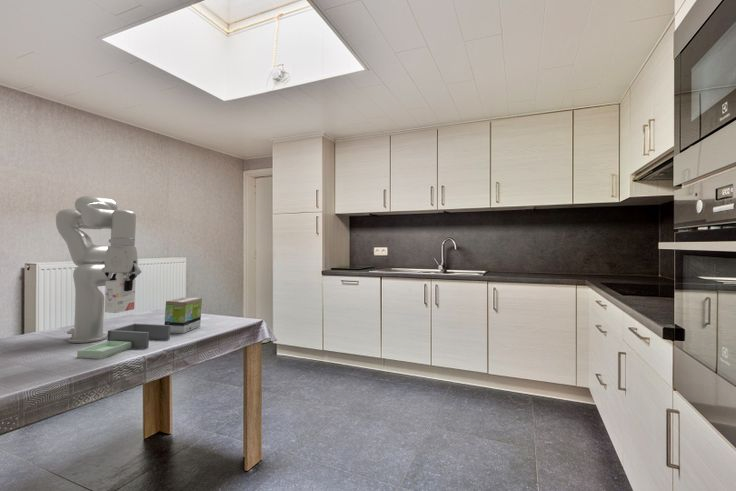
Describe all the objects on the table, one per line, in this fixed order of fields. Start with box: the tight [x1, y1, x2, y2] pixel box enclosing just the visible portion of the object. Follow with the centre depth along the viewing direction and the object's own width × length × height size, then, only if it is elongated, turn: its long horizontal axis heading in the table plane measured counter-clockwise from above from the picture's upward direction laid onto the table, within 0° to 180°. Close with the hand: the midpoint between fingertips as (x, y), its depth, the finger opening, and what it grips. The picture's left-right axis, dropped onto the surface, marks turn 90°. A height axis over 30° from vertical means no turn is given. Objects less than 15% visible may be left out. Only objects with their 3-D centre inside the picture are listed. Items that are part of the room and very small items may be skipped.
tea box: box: [163, 296, 203, 334], centre depth 165 cm, size 15×10×15 cm, turn 179°
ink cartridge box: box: [104, 272, 136, 314], centre depth 130 cm, size 9×5×15 cm, turn 171°
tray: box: [76, 340, 132, 360], centre depth 127 cm, size 10×13×2 cm
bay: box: [106, 323, 171, 349], centre depth 141 cm, size 16×14×6 cm
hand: (120, 289), depth 130 cm, fingers closed on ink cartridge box, 5 cm apart
